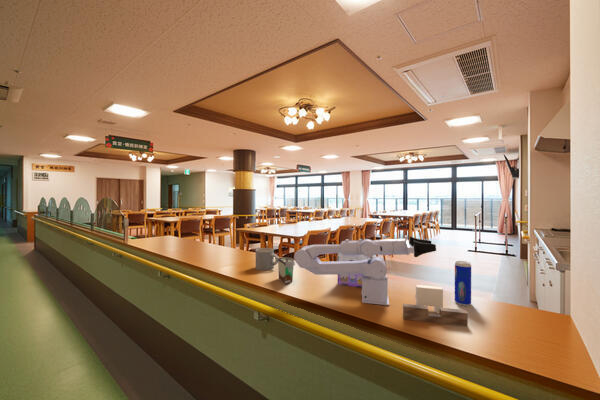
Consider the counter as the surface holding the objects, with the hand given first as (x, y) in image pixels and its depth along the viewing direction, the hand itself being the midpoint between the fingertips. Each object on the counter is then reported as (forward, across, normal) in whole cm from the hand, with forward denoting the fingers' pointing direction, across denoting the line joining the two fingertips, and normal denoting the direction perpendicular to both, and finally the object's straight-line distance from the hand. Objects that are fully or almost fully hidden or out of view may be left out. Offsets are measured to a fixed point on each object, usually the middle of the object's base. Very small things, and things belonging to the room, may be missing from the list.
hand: (433, 245), depth 94 cm
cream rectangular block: (-4, -4, +22) cm, 22 cm away
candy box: (-31, +16, +19) cm, 40 cm away
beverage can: (+9, +6, +23) cm, 25 cm away
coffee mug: (-79, +30, +15) cm, 86 cm away
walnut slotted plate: (-4, -12, +22) cm, 25 cm away
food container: (-61, +13, +17) cm, 64 cm away
